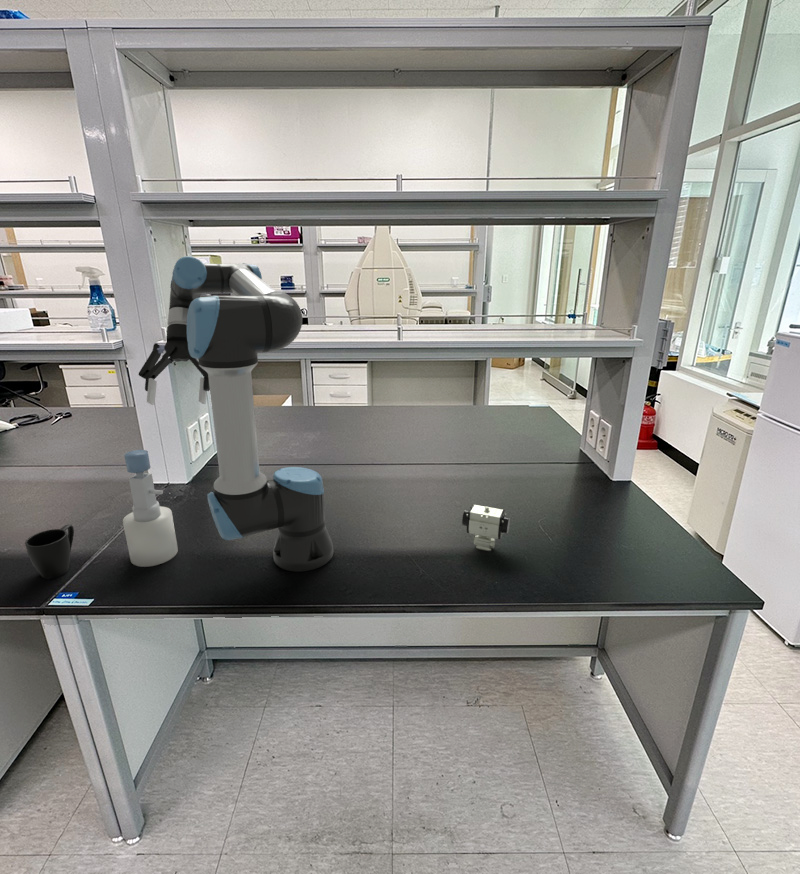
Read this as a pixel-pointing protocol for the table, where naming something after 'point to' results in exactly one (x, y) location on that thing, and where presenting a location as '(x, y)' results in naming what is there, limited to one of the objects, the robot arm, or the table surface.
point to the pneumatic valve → (485, 525)
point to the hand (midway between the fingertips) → (176, 403)
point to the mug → (51, 551)
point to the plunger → (137, 462)
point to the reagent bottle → (149, 525)
